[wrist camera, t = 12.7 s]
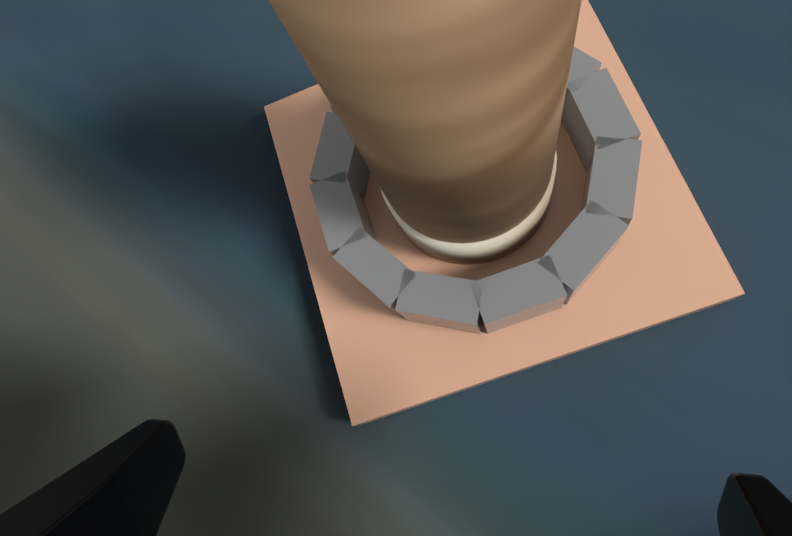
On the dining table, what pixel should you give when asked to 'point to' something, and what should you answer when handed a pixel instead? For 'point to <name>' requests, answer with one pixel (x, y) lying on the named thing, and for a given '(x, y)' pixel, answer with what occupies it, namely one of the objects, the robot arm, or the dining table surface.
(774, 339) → the dining table surface
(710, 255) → the collar
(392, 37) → the brown cylinder
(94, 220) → the dining table surface
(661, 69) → the dining table surface
